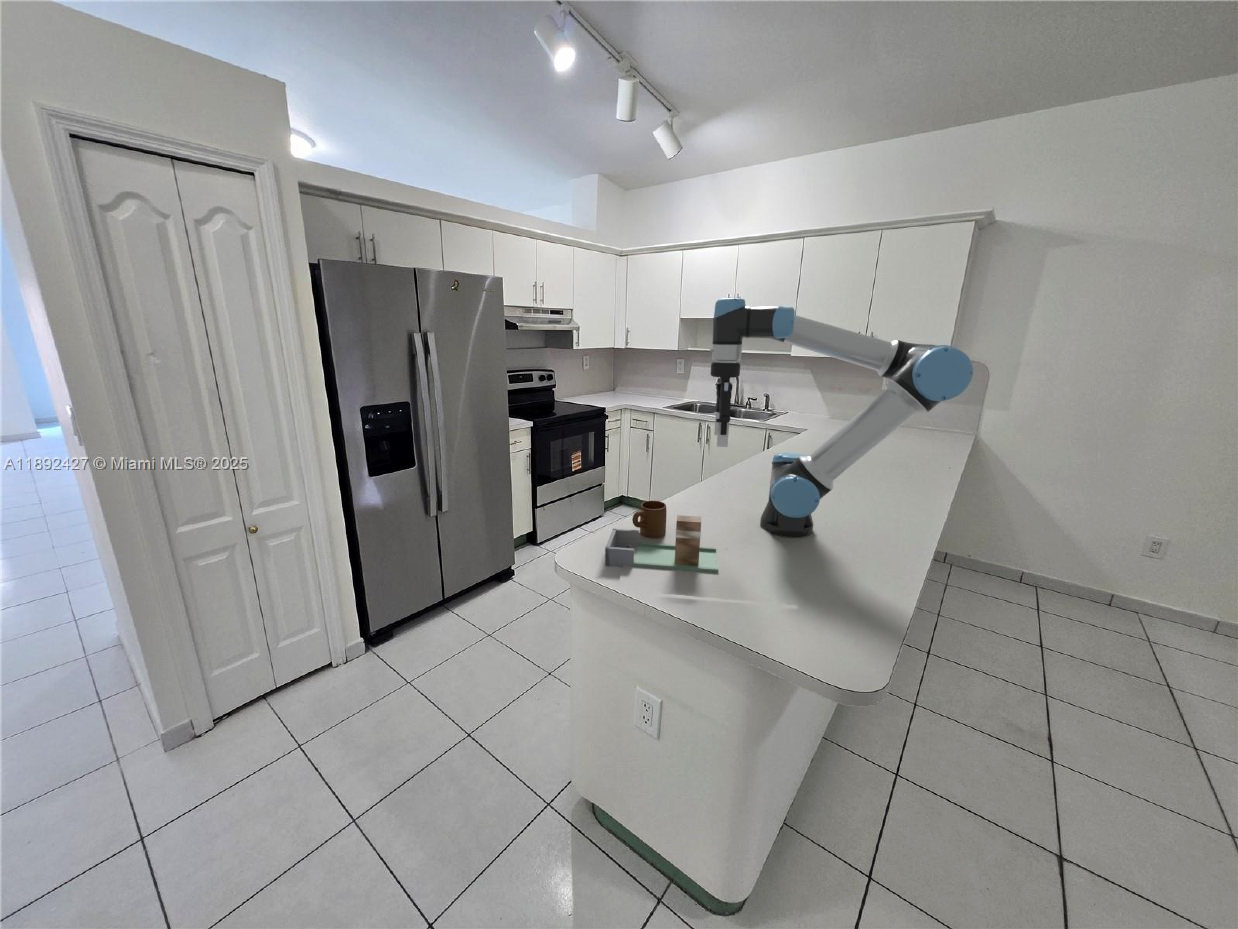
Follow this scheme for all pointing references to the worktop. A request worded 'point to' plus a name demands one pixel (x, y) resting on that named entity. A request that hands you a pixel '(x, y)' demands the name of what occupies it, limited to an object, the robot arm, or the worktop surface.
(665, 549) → the pitch
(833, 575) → the worktop surface
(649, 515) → the mug
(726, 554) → the worktop surface
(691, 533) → the block
